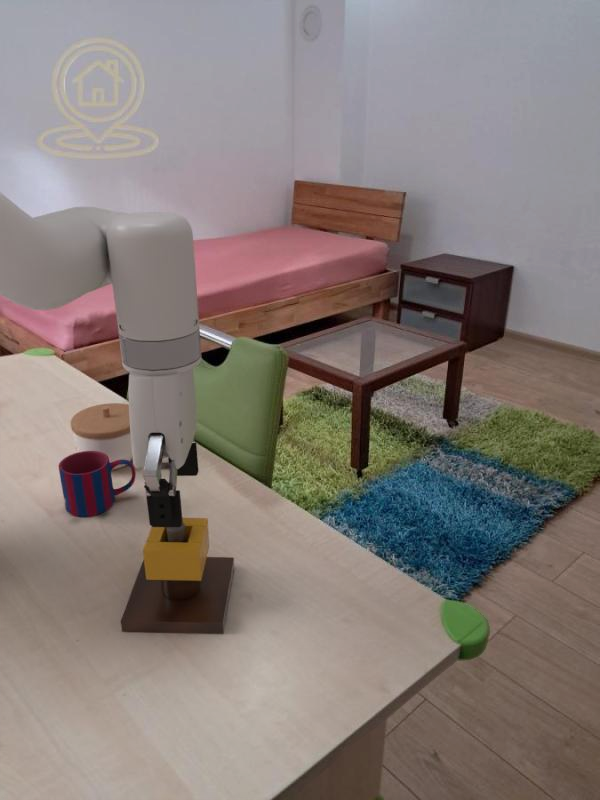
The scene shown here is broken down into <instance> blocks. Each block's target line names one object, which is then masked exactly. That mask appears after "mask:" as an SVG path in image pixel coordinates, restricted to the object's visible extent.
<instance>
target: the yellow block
mask: <svg viewBox="0 0 600 800" xmlns="http://www.w3.org/2000/svg"><path fill="white" fill-rule="evenodd" d="M182 519H183V523H184V524H185V531H186V543H185V542H168V538H167V527H152V526H151V528H150V531H149V533H148V536H147V538H146V541H145V544H144V547H143V549H142V554H143V560H144V564H145V572H146V579H147V580H189V581H201V579H202V575H203V571H204V566H205V562H206V558H207V557H208V553H209V549H210V537H209V536H210V535H209V520H208V518H207V517H182Z"/></svg>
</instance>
